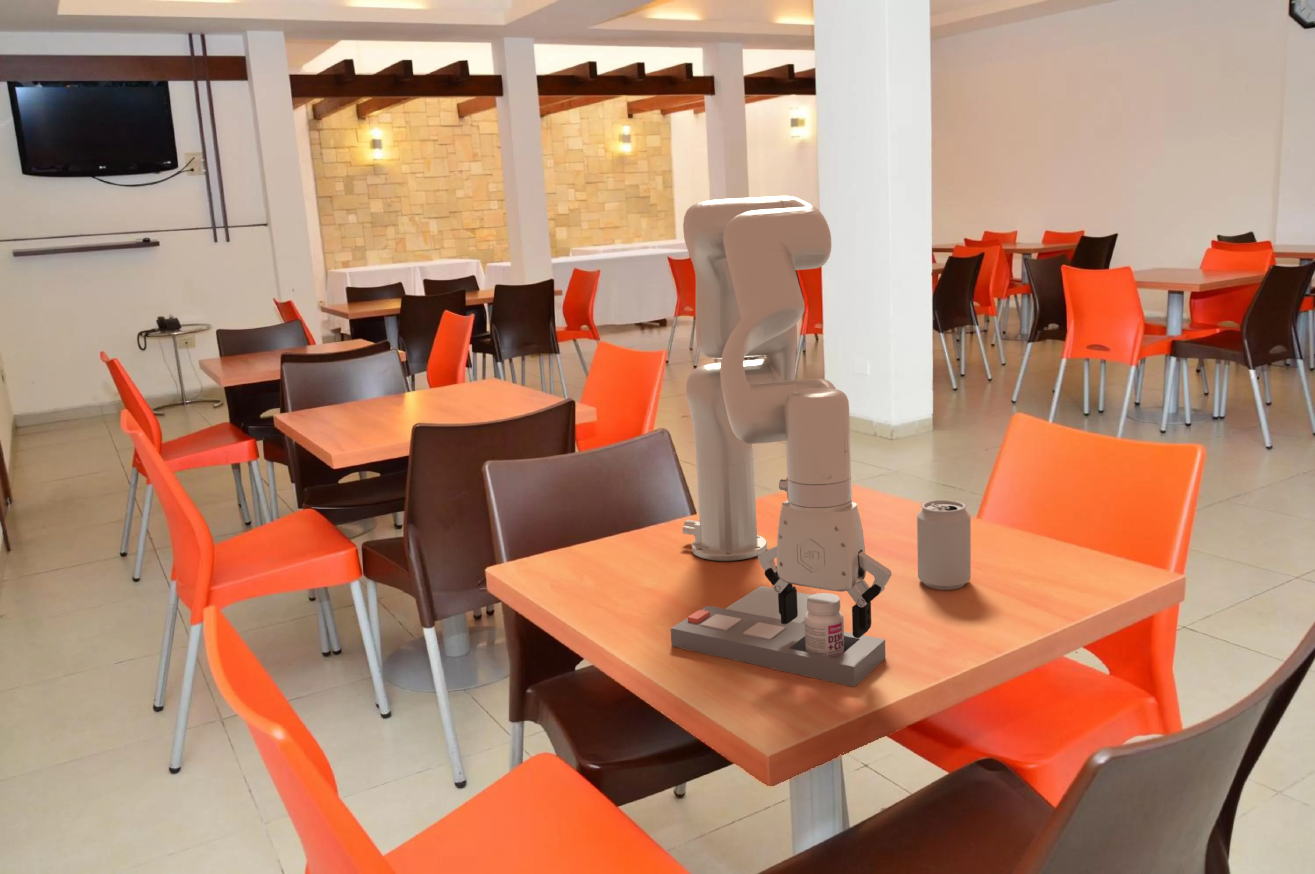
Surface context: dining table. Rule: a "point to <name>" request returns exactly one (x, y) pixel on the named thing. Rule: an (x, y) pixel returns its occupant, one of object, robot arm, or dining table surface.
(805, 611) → the mat
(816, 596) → the pill bottle
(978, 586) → the dining table surface
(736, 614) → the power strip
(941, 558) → the can
